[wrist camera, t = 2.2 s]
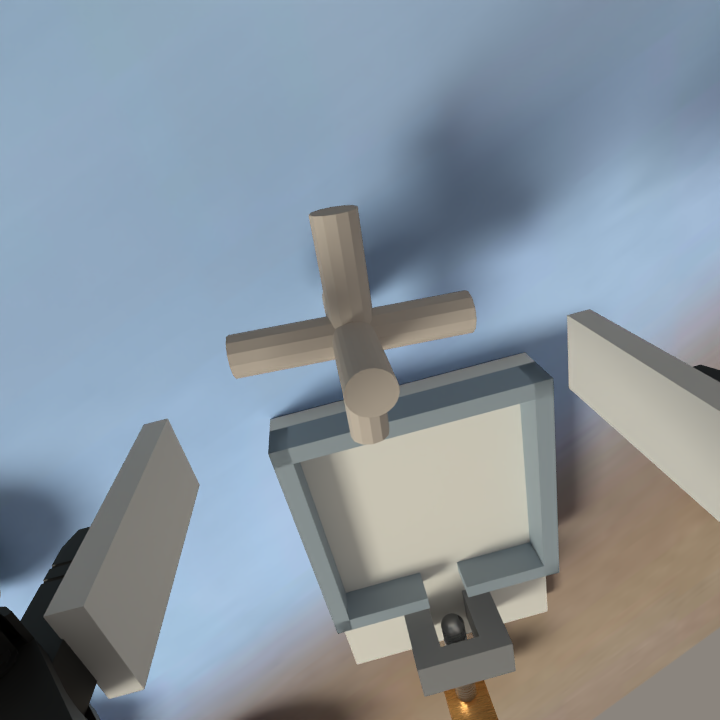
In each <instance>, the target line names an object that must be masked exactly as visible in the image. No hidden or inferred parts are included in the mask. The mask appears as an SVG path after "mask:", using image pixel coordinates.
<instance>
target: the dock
mask: <svg viewBox="0 0 720 720" xmlns="http://www.w3.org/2000/svg"><path fill="white" fill-rule="evenodd" d="M399 388H400V391H399V397H398V400H397V402H396V404H395V405H394V407H393V408H392V409H390V410H389V411H388V412H387V414H388V421H389V428H390V429H389V435H388V436H387V437H386V438H385V439H384V440H383V441H381V442H378V443H375V444H368V445H363V444H360V443H357V442H355V441H354V440H353V439H352V437H351V434H350V429H349V424H348V419H347V413H346V408H345V403H344V400H342V401H338V402H334V403H331V404H327V405H323V406H319V407H315V408H312V409H308V410H304V411H300V412H296V413H293V414H289V415H285V416H281V417H277V418H274V419H270V433H269V450H268V455H269V457H270V460H271V462H272V465H273V467H274V470H275V473H276V475H277V478H278V480H279V483H280V486H281V488H282V491H283V493H284V496H285V498H286V501H287V504H288V506H289V509H290V511H291V514H292V516H293V519H294V522H295V524H296V527H297V529H298V532H299V535H300V537H301V540H302V542H303V545H304V547H305V550H306V553H307V555H308V558H309V560H310V563H311V566H312V568H313V571H314V573H315V576H316V578H317V581H318V584H319V586H320V589H321V591H322V594H323V597H324V599H325V602H326V604H327V607H328V609H329V612H330V615H331V617H332V620H333V622H334V625H335V627H336V630H337V633H338V634H339V633H342V632H345V634H346V636H347V639H348V642H349V644H350V647H351V650H352V652H353V655H354V658H355V660H356V663H357V664H361V663H364V662H368V661H371V660H375V659H379V658H382V657H386V656H389V655H393V654H396V653H400V652H404V651H407V650H411V649H412V650H413V654H414V658H415V663H416V667H417V671H418V674H419V678H420V682H421V685H422V689H423V692H424V696H425V697H426V696H429V695H433V694H436V693H440V692H443V691H447V690H450V689H454V688H457V687H461V686H464V685H468V684H471V683H475V682H478V681H482V680H486V679H489V678H493V677H496V676H500V675H503V674H507V673H510V672H514V671H516V669H515V660H514V651H513V643H512V641H511V639H510V637H509V634H508V632H507V630H506V628H505V625H504V623H507V622H511V621H514V620H518V619H521V618H525V617H529V616H532V615H536V614H539V613H543V612H546V611H547V592H546V576H548V575H551V574H555V573H558V572H559V550H558V517H557V485H556V453H555V420H554V388H553V378H552V377H551V376H550V375H549V374H548V373H547V372H546V371H545V370H544V369H542V368H541V367H540V366H539V365H538V364H537V363H536V362H535V361H534V360H533V359H532V358H531V357H529V356H528V355H527V354H526V353H521V354H517V355H513V356H509V357H506V358H502V359H498V360H494V361H490V362H486V363H483V364H479V365H475V366H471V367H467V368H464V369H460V370H456V371H452V372H448V373H445V374H441V375H437V376H433V377H429V378H426V379H422V380H418V381H414V382H410V383H407V384H403V385H399ZM450 613H454V614H457V615H459V616H460V617H461V618H462V619H463V621H464V625H465V631H466V634H468V633H471V632H472V633H473V636H474V638H472V639H468V640H465V641H461V642H457V643H454V644H450V645H447V646H443V647H440V644H439V641H443V640H444V637H443V632H442V628H441V621H442V619H443V617H444V616H445V615H447V614H450Z"/></svg>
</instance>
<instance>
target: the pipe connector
mask: <svg viewBox="0 0 720 720" xmlns="http://www.w3.org/2000/svg"><path fill="white" fill-rule="evenodd" d="M309 219H310V225H311V230H312V235H313V240H314V246H315V251H316V256H317V261H318V267H319V272H320V277H321V282H322V288H323V294H322V298H323V304H324V309H325V313H326V317H321V318H316V319H311V320H306V321H300V322H295V323H290V324H285V325H279V326H274V327H269V328H263V329H258V330H253V331H248V332H242V333H237V334H232V335H228V336H227V337H226V350H227V357H228V361H229V365H230V368H231V371H232V373H233V376H234V377H235V378H236V379H237V378H243V377H248V376H253V375H258V374H263V373H268V372H273V371H278V370H284V369H289V368H294V367H299V366H304V365H309V364H314V363H319V362H324V361H330V360H336V365H337V369H338V374H339V378H340V383H341V388H342V392H343V398H344V403H345V408H346V413H347V419H348V424H349V429H350V434H351V437H352V439H353V440H354V441H355V442H357V443H360V444H363V445H368V444H375V443H378V442H381V441H383V440H384V439H385V438H386V437H387V436H388V435H389V429H390V428H389V421H388V414H387V412H388V411H389V410H390V409H392V408H393V407H394V405H395V404H396V402H397V400H398V397H399V391H400V388H399V384H398V381H397V379H396V377H395V374H394V372H393V370H392V368H391V365H390V363H389V361H388V359H387V356H386V354H385V352H384V350H386V349H391V348H396V347H401V346H406V345H411V344H417V343H422V342H427V341H432V340H437V339H442V338H447V337H452V336H457V335H463V334H468V333H473V332H474V330H475V329H476V311H475V306H474V303H473V299H472V297H471V295H470V294H469V292H468V291H465V290H464V291H458V292H453V293H448V294H443V295H437V296H432V297H427V298H422V299H416V300H411V301H406V302H400V303H395V304H390V305H385V306H379V307H374V308H372V303H371V296H370V289H369V282H368V275H367V268H366V261H365V254H364V247H363V240H362V234H361V227H360V220H359V213H358V206H354V205H344V206H336V207H329V208H325V209H320V210H317V211H314V212H311V213H310V214H309Z"/></svg>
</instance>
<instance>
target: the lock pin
mask: <svg viewBox="0 0 720 720" xmlns="http://www.w3.org/2000/svg"><path fill="white" fill-rule="evenodd" d="M441 628H442V632H443V637H444V642H445V646H447V645H450V644H454V643H457V642H461V641H465V640H467V636H466V631H465V625H464V621H463V619H462V618H461V617H460V616H459V615H457V614H454V613H450V614H447V615H445V616H444V617H443V619H442V621H441ZM444 694H445V697H446V701H447V704H448V708H449V712H450V715H451V719H452V720H498V718H497V715H496V712H495V709H494V707H493V704H492V701H491V698H490V696H489V693H488V690H487V687H486V685H485V682H484V680H482V681H478V682H475V683H471V684H468V685H464V686H461V687H457V688H454V689H450V690H447V691H444Z"/></svg>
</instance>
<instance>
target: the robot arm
mask: <svg viewBox="0 0 720 720" xmlns="http://www.w3.org/2000/svg"><path fill="white" fill-rule="evenodd" d="M567 331H568V372H569V389H571V390H572V391H573V392H574V393H575V394H576V395H577V396H579V397H580V398H581V399H582V400H583V401H584V402H585V403H586V404H588V405H589V406H590V407H591V408H592V409H593V410H594V411H595V412H597V413H598V414H599V415H600V416H601V417H602V418H603V419H604V420H606V421H607V422H608V423H609V424H610V425H611V426H612V427H613V428H615V429H616V430H617V431H618V432H619V433H620V434H621V435H622V436H624V437H625V438H626V439H627V440H628V441H629V442H630V443H631V444H633V445H634V446H635V447H636V448H637V449H638V450H639V451H640V452H642V453H643V454H644V455H645V456H646V457H647V458H648V459H649V460H651V461H652V462H653V463H654V464H655V465H656V466H657V467H658V468H660V469H661V470H662V471H663V472H664V473H665V474H666V475H667V476H669V477H670V478H671V479H672V480H673V481H674V482H675V483H676V484H678V485H679V486H680V487H681V488H682V489H683V490H684V491H685V492H687V493H688V494H689V495H690V496H691V497H692V498H693V499H694V500H696V501H697V502H698V503H699V504H700V505H701V506H702V507H703V508H705V509H706V510H707V511H708V512H709V513H710V514H711V515H712V516H714V517H715V518H716V519H717V520H718V521H719V522H720V370H717V369H714V368H710V367H707V366H703V365H698V366H694V367H692V366H690V365H688V364H686V363H685V362H683V361H681V360H679V359H677V358H676V357H674V356H672V355H670V354H669V353H667V352H665V351H663V350H661V349H660V348H658V347H656V346H654V345H653V344H651V343H649V342H647V341H645V340H644V339H642V338H640V337H638V336H637V335H635V334H633V333H631V332H629V331H628V330H626V329H624V328H622V327H621V326H619V325H617V324H615V323H613V322H612V321H610V320H608V319H606V318H604V317H603V316H601V315H599V314H597V313H596V312H594V311H592V310H590V309H589V310H585V311H581V312H578V313H574V314H570V315H567ZM198 489H199V483H198V481H197V479H196V476H195V474H194V472H193V470H192V468H191V466H190V464H189V462H188V460H187V458H186V456H185V454H184V451H183V449H182V447H181V445H180V443H179V441H178V439H177V437H176V435H175V433H174V431H173V429H172V427H171V424H170V422H169V420H168V419H164V420H160V421H156V422H152V423H148V424H144V425H143V427H142V429H141V431H140V433H139V435H138V437H137V439H136V440H135V442H134V444H133V446H132V448H131V450H130V452H129V454H128V456H127V458H126V460H125V461H124V463H123V465H122V467H121V469H120V471H119V473H118V475H117V477H116V479H115V481H114V482H113V484H112V486H111V488H110V490H109V492H108V494H107V496H106V498H105V500H104V502H103V503H102V505H101V507H100V509H99V511H98V513H97V515H96V517H95V519H94V521H93V523H92V524H91V526H90V527H87V528H84V529H80V530H78V531H77V532H76V533H75V534H74V535H73V536H72V537H71V539H70V540H69V541H68V542H67V543H66V544H65V545H64V546H63V547H62V548H61V550H60V552H59V554H58V556H57V557H56V559H55V561H54V563H53V564H52V569H50V570H49V571H48V573H47V575H46V577H45V578H44V580H43V581H44V584H41V585H40V587H39V589H38V591H37V593H36V594H35V596H34V598H33V600H32V601H31V603H30V605H29V607H28V608H27V610H26V612H25V614H24V615H23V617H22V619H21V621H19V619H18V618H17V617H16V616H15V615H14V613H13V612H12V611H11V610H9V609H8V608H7V607H0V720H100V718H99V716H98V714H97V712H96V711H95V710H94V708H93V707H92V706H91V705H90V704H89V703H90V700H91V697H92V694H93V692H94V689H95V686H96V683H97V685H98V686H99V687H100V688H101V690H102V691H103V692H104V693H105V695H106V696H107V697H108V698H109V699H111V698H115V697H119V696H122V695H126V694H130V693H133V692H137V691H141V690H144V689H145V685H146V682H147V678H148V674H149V670H150V667H151V663H152V659H153V656H154V652H155V648H156V644H157V641H158V637H159V633H160V630H161V626H162V622H163V619H164V615H165V611H166V607H167V604H168V600H169V596H170V593H171V589H172V585H173V581H174V578H175V574H176V570H177V567H178V563H179V559H180V555H181V552H182V548H183V544H184V541H185V537H186V533H187V530H188V526H189V522H190V518H191V515H192V511H193V507H194V504H195V500H196V496H197V492H198Z"/></svg>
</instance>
